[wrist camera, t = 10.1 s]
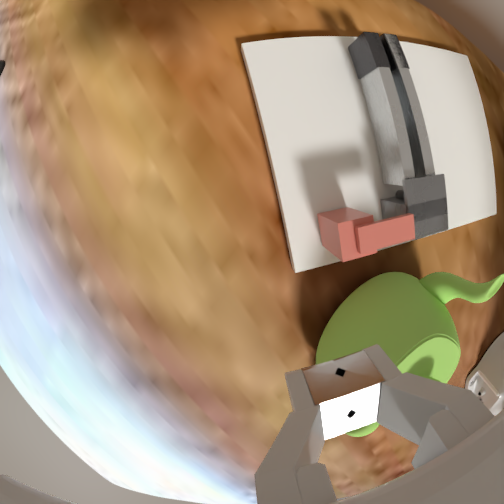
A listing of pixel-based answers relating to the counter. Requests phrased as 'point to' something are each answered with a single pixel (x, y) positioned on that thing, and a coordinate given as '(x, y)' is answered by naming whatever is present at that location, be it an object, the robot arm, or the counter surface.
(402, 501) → the robot arm
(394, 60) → the tongs arm
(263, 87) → the board
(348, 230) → the lock tab
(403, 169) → the tongs fixed
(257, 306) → the counter surface
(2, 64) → the smartphone
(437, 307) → the teapot
